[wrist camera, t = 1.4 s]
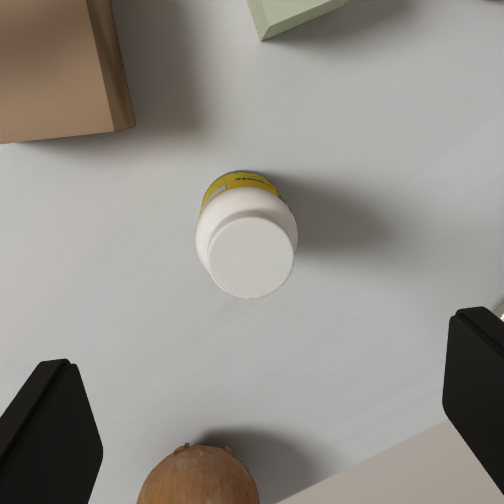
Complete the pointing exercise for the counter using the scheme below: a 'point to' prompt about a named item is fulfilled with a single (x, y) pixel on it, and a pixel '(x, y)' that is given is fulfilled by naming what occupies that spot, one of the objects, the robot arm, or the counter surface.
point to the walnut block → (60, 70)
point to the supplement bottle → (246, 235)
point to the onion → (199, 478)
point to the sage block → (287, 14)
